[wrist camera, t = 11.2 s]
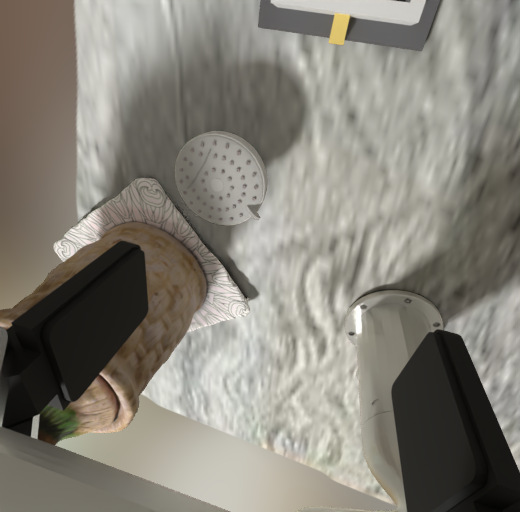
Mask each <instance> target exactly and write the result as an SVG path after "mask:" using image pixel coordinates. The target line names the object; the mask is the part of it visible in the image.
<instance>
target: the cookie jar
mask: <svg viewBox="0 0 520 512" xmlns="http://www.w3.org/2000/svg"><path fill="white" fill-rule="evenodd" d="M119 241H127V242H130V243H134V244H137V245H139V246H140V247H141V250H142V251H144V253H145V265H146V279H147V293H148V307H149V308H148V313H147V315H146V317H145V319H144V320H143V321H142V322H141V323H140V325H139V326H138V327H137V328H136V330H135V331H134V332H133V333H132V335H131V336H130V337H129V338H128V339H127V341H126V342H125V343H124V344H123V346H122V347H121V348H120V349H119V350H118V352H117V353H116V354H115V355H114V357H113V358H112V359H111V360H110V362H109V363H108V364H107V365H106V366H105V368H104V369H103V370H102V371H101V373H100V374H99V375H98V376H97V377H96V379H95V380H94V381H93V382H92V384H91V385H90V386H89V387H88V388H87V390H86V391H85V392H84V393H83V395H82V396H81V397H80V398H79V399H78V400H77V401H75V402H71V403H70V404H69V405H68V406H67V407H66V409H65V410H64V411H62V410H60V409H57V408H54V407H51V406H49V405H47V406H46V407H45V408H44V409H43V410H42V411H41V413H40V416H39V427H38V438H37V439H38V440H41V441H43V442H46V443H49V444H52V445H56V443H57V442H59V441H60V440H62V439H67V438H71V437H76V436H79V435H82V434H85V433H88V432H94V433H106V432H117V431H121V430H123V429H125V428H126V427H127V426H128V425H129V424H130V423H131V421H132V420H133V417H134V416H135V414H136V412H137V410H138V407H139V395H140V394H141V393H142V391H143V390H144V389H145V387H146V386H147V384H148V383H149V381H150V380H151V379H152V377H153V375H154V374H155V373H156V371H158V369H159V368H160V367H161V366H162V364H164V363H165V362H166V361H167V360H168V358H169V357H170V355H171V353H172V352H173V351H174V349H175V348H176V347H177V345H178V344H179V343H180V341H181V340H182V338H183V337H184V336H185V334H186V332H188V331H194V330H195V329H197V328H201V327H204V326H210V325H214V324H215V323H218V322H220V321H224V320H230V319H232V318H236V317H238V316H239V317H244V316H246V315H248V313H249V312H250V308H249V305H248V301H249V300H250V299H249V297H247V299H246V298H245V297H244V295H243V294H242V292H241V291H240V289H239V288H238V286H237V284H235V283H234V281H233V280H232V278H231V277H230V275H229V274H228V272H227V271H226V269H225V267H224V266H223V265H222V264H221V263H220V261H219V260H218V258H216V257H215V256H214V255H213V254H212V253H211V252H210V251H209V250H208V249H207V247H206V246H205V245H204V244H203V243H202V241H201V240H200V239H199V237H198V236H197V234H196V233H195V231H194V230H193V229H192V228H191V226H190V225H189V224H188V223H187V221H186V220H185V219H184V217H183V216H182V215H181V213H180V212H179V211H178V210H177V209H176V207H175V206H174V204H173V203H172V201H171V200H170V199H169V197H168V196H167V195H166V193H165V192H164V190H163V188H162V187H161V185H160V184H159V182H158V181H157V180H156V179H151V178H138V179H135V180H134V181H133V182H131V183H130V185H129V186H128V187H126V188H125V189H124V190H122V192H121V193H120V194H119V195H118V196H117V197H115V198H113V199H111V200H109V201H108V202H107V203H106V204H104V205H103V206H101V207H99V208H97V209H96V210H94V211H92V212H91V213H90V214H89V215H87V218H84V219H82V220H81V221H80V223H79V224H78V225H77V226H73V227H72V228H71V229H70V230H68V232H66V233H65V235H64V237H63V238H62V239H60V240H58V241H57V242H55V243H54V251H55V252H56V253H57V254H58V255H59V257H60V259H61V260H62V261H63V263H61V264H59V265H58V266H57V267H56V268H54V269H53V270H52V271H51V272H50V273H49V274H48V276H47V278H46V279H45V280H44V282H43V283H42V284H41V285H40V286H39V287H37V289H36V290H35V291H34V292H33V293H32V294H30V295H29V296H27V297H25V298H24V299H23V300H21V301H20V302H19V303H18V304H17V305H15V306H14V307H13V308H12V309H3V310H0V327H3V328H4V329H5V330H7V329H8V328H10V327H11V326H12V324H11V322H13V321H14V320H15V319H17V318H18V317H19V316H21V315H22V314H23V313H25V312H26V311H27V310H29V309H30V308H31V307H33V306H34V305H35V304H37V303H38V302H39V301H41V300H42V299H43V298H45V297H46V296H47V295H49V294H50V293H51V292H53V291H54V290H55V289H57V288H58V287H59V286H61V285H62V284H63V283H65V282H66V281H67V280H69V279H70V278H71V277H73V276H74V275H75V274H77V273H78V272H79V271H81V270H82V269H83V268H85V267H86V266H87V265H89V264H90V263H91V262H93V261H94V260H95V259H97V258H98V257H99V256H101V255H102V254H103V253H105V252H106V251H107V250H109V249H110V248H111V247H112V246H114V245H115V244H116V243H118V242H119Z"/></svg>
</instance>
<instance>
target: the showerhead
mask: <svg viewBox="0 0 520 512" xmlns="http://www.w3.org/2000/svg"><path fill="white" fill-rule="evenodd" d="M175 181H176V185H177V189H178V191H179V193H180V195H181V197H182V199H183V201H184V202H185V203H186V205H187V206H188V207H189V208H190V209H191V210H192V211H193V212H194V213H195V214H196V215H198V216H199V217H201V218H202V219H204V220H206V221H208V222H211V223H214V224H218V225H236V224H240V223H242V222H245V221H247V220H248V219H250V218H251V217H253V218H254V219H255V220H259V219H260V216H259V215H258V213H257V211H258V210H259V208H260V206H261V204H262V202H263V200H264V198H265V195H266V191H267V173H266V169H265V166H264V163H263V161H262V159H261V157H260V156H259V154H258V153H257V151H256V150H255V149H254V148H253V147H252V146H251V145H250V144H249V143H248V142H247V141H245V140H244V139H243V138H241V137H239V136H237V135H235V134H232V133H229V132H225V131H210V132H206V133H203V134H200V135H198V136H196V137H194V138H192V139H191V140H189V141H188V142H187V143H186V144H185V145H184V146H183V147H182V149H181V150H180V152H179V154H178V156H177V159H176V163H175Z"/></svg>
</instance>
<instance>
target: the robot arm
mask: <svg viewBox="0 0 520 512" xmlns="http://www.w3.org/2000/svg"><path fill="white" fill-rule="evenodd" d="M148 308H149V307H148V293H147V279H146V265H145V253H144V251H142V250H141V247H140V246H139V245H137V244H134V243H130V242H127V241H119V242H118V243H116V244H115V245H114V246H112V247H111V248H110V249H109V250H107V251H106V252H105V253H103V254H102V255H101V256H99V257H98V258H97V259H95V260H94V261H93V262H91V263H90V264H89V265H87V266H86V267H85V268H83V269H82V270H81V271H79V272H78V273H77V274H75V275H74V276H73V277H71V278H70V279H69V280H67V281H66V282H65V283H63V284H62V285H61V286H59V287H58V288H57V289H55V290H54V291H53V292H51V293H50V294H49V295H47V296H46V297H45V298H43V299H42V300H41V301H39V302H38V303H37V304H35V305H34V306H33V307H31V308H30V309H29V310H27V311H26V312H25V313H23V314H22V315H21V316H19V317H18V318H17V319H15V320H14V321H13V322H11V324H12V326H11V327H10V328H8V329H7V330H5V329H4V328H3V327H0V512H230V511H227V510H225V509H222V508H219V507H217V506H214V505H211V504H209V503H206V502H203V501H201V500H198V499H196V498H193V497H190V496H188V495H185V494H182V493H180V492H177V491H175V490H172V489H169V488H167V487H164V486H161V485H159V484H156V483H154V482H151V481H148V480H146V479H143V478H140V477H138V476H135V475H132V474H130V473H127V472H124V471H122V470H119V469H116V468H114V467H111V466H108V465H106V464H103V463H100V462H98V461H95V460H92V459H90V458H87V457H84V456H82V455H79V454H76V453H74V452H71V451H68V450H66V449H63V448H60V447H57V446H55V445H52V444H49V443H46V442H43V441H41V440H38V439H37V438H38V427H39V416H40V413H41V411H42V410H43V409H44V408H45V407H46V406H47V405H49V406H51V407H54V408H57V409H60V410H62V411H64V410H65V409H66V407H67V406H68V405H69V404H70V403H71V402H75V401H77V400H78V399H79V398H80V397H81V396H82V395H83V393H84V392H85V391H86V390H87V388H88V387H89V386H90V385H91V384H92V382H93V381H94V380H95V379H96V377H97V376H98V375H99V374H100V373H101V371H102V370H103V369H104V368H105V366H106V365H107V364H108V363H109V362H110V360H111V359H112V358H113V357H114V355H115V354H116V353H117V352H118V350H119V349H120V348H121V347H122V346H123V344H124V343H125V342H126V341H127V339H128V338H129V337H130V336H131V335H132V333H133V332H134V331H135V330H136V328H137V327H138V326H139V325H140V323H141V322H142V321H143V320H144V319H145V317H146V315H147V313H148ZM345 332H346V335H347V337H348V339H349V340H350V341H351V343H352V344H353V345H354V346H355V347H357V357H358V370H357V372H356V376H357V378H358V379H359V397H360V416H361V439H362V449H363V453H364V457H365V460H366V462H367V465H368V467H369V469H370V471H371V472H372V474H373V476H374V477H375V478H376V480H377V481H378V483H379V484H380V485H381V486H382V488H383V489H384V490H385V491H386V493H387V494H388V495H389V496H390V497H391V499H392V500H393V501H394V502H395V503H396V505H397V508H396V509H395V510H391V511H368V510H357V509H345V508H333V507H331V508H329V507H307V508H303V509H300V510H298V511H296V512H520V472H519V470H518V467H517V465H516V463H515V460H514V458H513V456H512V453H511V451H510V449H509V446H508V444H507V442H506V439H505V437H504V435H503V432H502V430H501V428H500V425H499V423H498V421H497V418H496V416H495V414H494V411H493V409H492V407H491V404H490V402H489V400H488V397H487V395H486V393H485V390H484V388H483V385H482V383H481V381H480V378H479V376H478V374H477V371H476V369H475V367H474V364H473V362H472V360H471V357H470V355H469V353H468V350H467V348H466V346H465V343H464V341H463V339H462V337H461V336H460V335H458V334H455V333H451V332H448V331H444V330H443V321H442V318H441V315H440V313H439V311H438V309H437V308H436V307H435V306H434V305H433V303H432V302H430V301H429V300H427V299H426V298H424V297H422V296H420V295H418V294H415V293H411V292H408V291H400V290H385V291H379V292H375V293H372V294H368V295H366V296H364V297H362V298H360V299H359V300H358V301H356V302H355V303H354V304H353V305H352V306H351V307H350V308H349V310H348V312H347V313H346V317H345Z"/></svg>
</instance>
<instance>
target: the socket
mask: <svg viewBox="0 0 520 512" xmlns="http://www.w3.org/2000/svg"><path fill="white" fill-rule="evenodd" d="M439 2H440V0H261V2H260V13H259V24H258V27H260V28H266V29H273V30H280V31H286V32H293V33H300V34H307V35H314V36H321V37H328V38H330V39H329V43H331V44H338V45H343V44H344V40H348V41H355V42H362V43H369V44H376V45H382V46H389V47H396V48H403V49H410V50H417V51H422V49H423V47H424V44H425V41H426V38H427V36H428V33H429V30H430V27H431V24H432V22H433V19H434V16H435V13H436V11H437V8H438V5H439Z"/></svg>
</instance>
